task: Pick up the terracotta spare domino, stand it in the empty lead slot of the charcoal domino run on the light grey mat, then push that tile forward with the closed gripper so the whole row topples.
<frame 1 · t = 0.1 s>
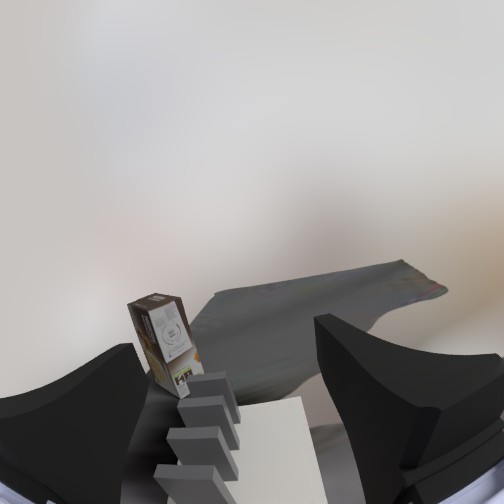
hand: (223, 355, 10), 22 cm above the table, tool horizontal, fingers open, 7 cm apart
coffee box: (180, 383, 44), on the table
domino 4: (219, 446, 27), resting on grey mat
domino 3: (216, 476, 22), resting on grey mat
domino 5: (222, 421, 32), resting on grey mat
grey mat: (243, 483, 21), on the table
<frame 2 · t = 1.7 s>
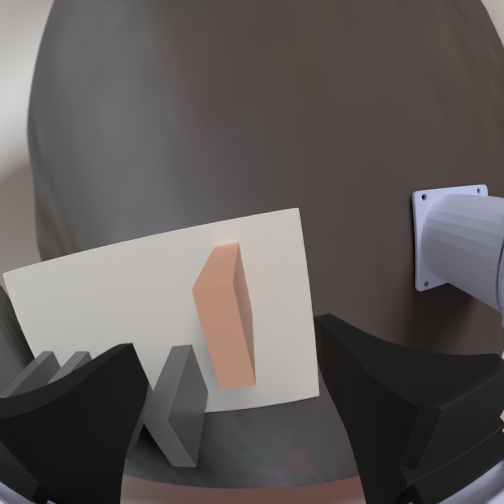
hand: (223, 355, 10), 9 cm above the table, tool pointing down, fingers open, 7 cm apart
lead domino: (234, 280, 19), resting on grey mat
domino 4: (93, 373, 20), resting on grey mat
domino 3: (137, 373, 20), resting on grey mat
domino 2: (190, 370, 20), resting on grey mat
domino 5: (58, 371, 21), resting on grey mat
grey mat: (136, 340, 20), on the table
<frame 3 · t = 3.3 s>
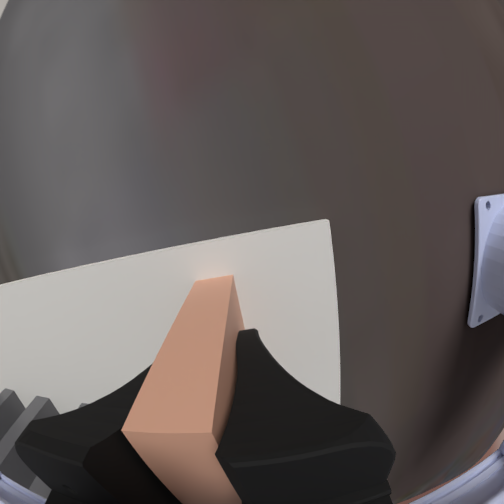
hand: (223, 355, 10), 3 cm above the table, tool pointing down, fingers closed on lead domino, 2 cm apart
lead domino: (226, 330, 12), resting on grey mat, touching gripper
domino 4: (59, 421, 14), resting on grey mat
domino 3: (107, 429, 14), resting on grey mat
domino 5: (24, 411, 14), resting on grey mat
grey mat: (101, 394, 13), on the table
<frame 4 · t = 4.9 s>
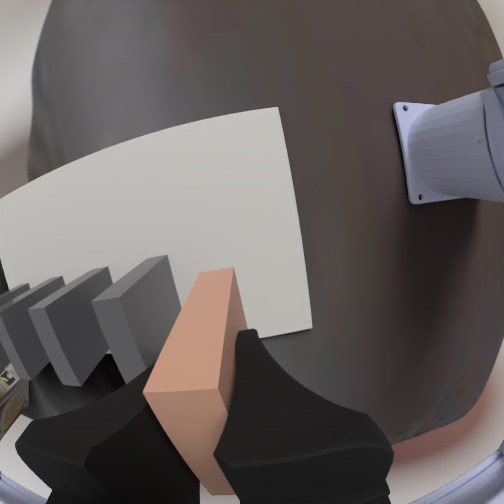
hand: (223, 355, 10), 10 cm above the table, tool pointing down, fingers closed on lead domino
coffee box: (14, 374, 22), on the table
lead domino: (228, 318, 13), point 7 cm above the table, touching gripper
domino 4: (65, 304, 19), resting on grey mat
domino 3: (109, 298, 19), resting on grey mat
domino 2: (165, 289, 19), resting on grey mat
domino 5: (32, 308, 19), resting on grey mat
grey mat: (111, 257, 19), on the table
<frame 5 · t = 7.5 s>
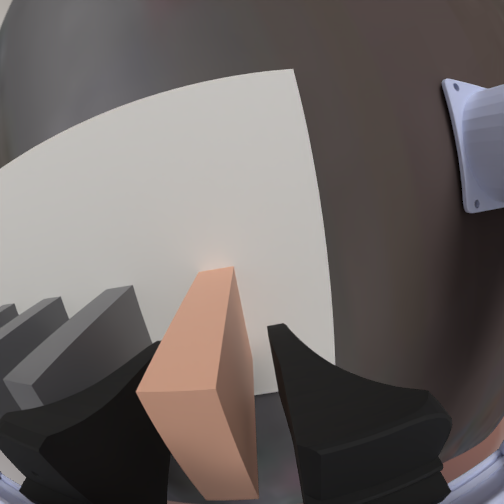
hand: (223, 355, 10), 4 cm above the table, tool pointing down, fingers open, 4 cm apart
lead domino: (227, 319, 13), resting on grey mat
domino 4: (21, 337, 13), resting on grey mat
domino 3: (66, 336, 13), resting on grey mat
domino 2: (134, 331, 13), resting on grey mat
grey mat: (64, 284, 13), on the table
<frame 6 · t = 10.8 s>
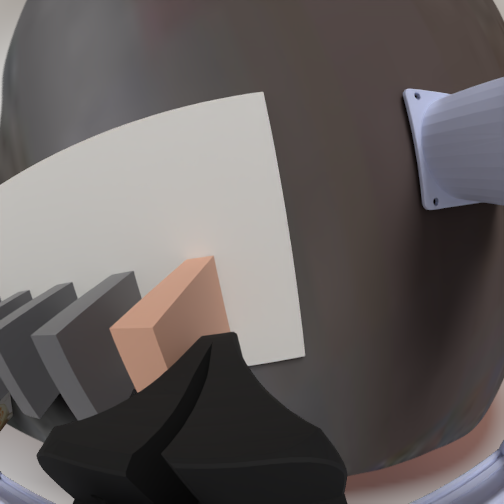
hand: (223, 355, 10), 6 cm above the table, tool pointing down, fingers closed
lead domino: (209, 299, 16), point 1 cm above the table, tilted 6°, touching grey mat
domino 4: (34, 320, 16), resting on grey mat
domino 3: (76, 316, 16), resting on grey mat
domino 2: (134, 310, 16), resting on grey mat
grey mat: (76, 272, 16), on the table
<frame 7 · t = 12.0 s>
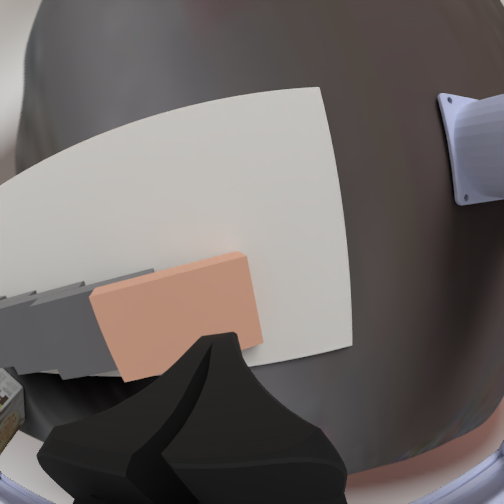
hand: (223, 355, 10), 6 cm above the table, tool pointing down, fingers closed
coffee box: (7, 389, 19), on the table
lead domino: (250, 297, 15), point 1 cm above the table, tilted 71°, touching domino 2, grey mat
domino 4: (43, 324, 15), point 1 cm above the table, tilted 69°, touching domino 3, domino 5, grey mat
domino 3: (93, 320, 15), point 1 cm above the table, tilted 71°, touching domino 2, domino 4, grey mat
domino 2: (165, 312, 15), point 1 cm above the table, tilted 72°, touching domino 3, grey mat, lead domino
grey mat: (112, 265, 16), on the table
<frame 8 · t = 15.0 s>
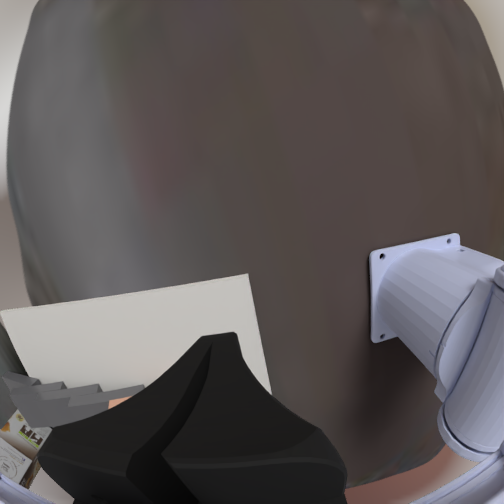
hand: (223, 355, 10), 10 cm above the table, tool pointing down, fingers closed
coffee box: (37, 428, 25), on the table
domino 4: (72, 402, 21), point 1 cm above the table, tilted 69°, touching domino 3, domino 5, grey mat
domino 3: (108, 406, 21), point 1 cm above the table, tilted 71°, touching domino 2, domino 4, grey mat
domino 2: (153, 408, 21), point 1 cm above the table, tilted 72°, touching domino 3, grey mat, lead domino
domino 5: (44, 399, 21), point 1 cm above the table, tilted 95°, touching domino 4, grey mat
grey mat: (116, 376, 22), on the table
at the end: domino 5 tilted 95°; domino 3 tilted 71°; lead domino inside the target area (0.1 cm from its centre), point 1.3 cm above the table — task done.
